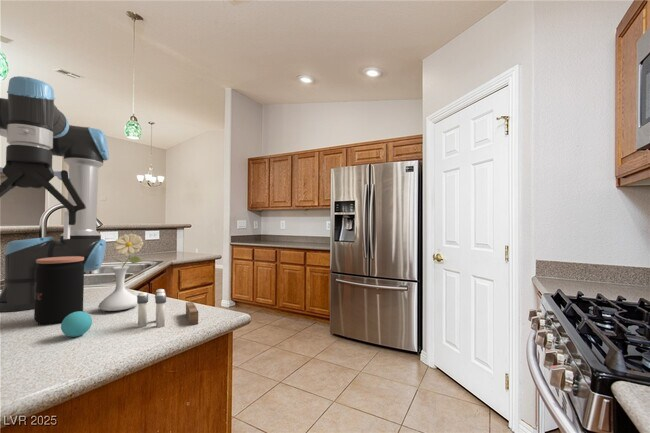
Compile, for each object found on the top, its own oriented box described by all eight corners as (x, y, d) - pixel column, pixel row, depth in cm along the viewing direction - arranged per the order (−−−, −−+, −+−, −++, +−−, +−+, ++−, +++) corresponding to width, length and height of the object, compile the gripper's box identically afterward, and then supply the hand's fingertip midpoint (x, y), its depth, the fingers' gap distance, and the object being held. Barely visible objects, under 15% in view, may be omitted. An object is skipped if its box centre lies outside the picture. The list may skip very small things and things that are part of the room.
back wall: (185, 313, 92) (185, 302, 92) (192, 313, 93) (192, 301, 93) (190, 325, 82) (190, 312, 82) (198, 324, 83) (198, 311, 83)
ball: (63, 334, 75) (64, 310, 75) (93, 330, 78) (94, 307, 78) (57, 342, 70) (58, 317, 70) (89, 337, 73) (90, 313, 73)
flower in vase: (88, 314, 92) (90, 234, 93) (114, 304, 103) (115, 232, 104) (131, 313, 92) (132, 234, 93) (151, 304, 104) (153, 233, 104)
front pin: (136, 325, 82) (137, 292, 82) (147, 323, 83) (148, 291, 83) (136, 328, 79) (137, 294, 80) (147, 326, 81) (148, 293, 81)
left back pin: (154, 320, 86) (155, 289, 86) (164, 319, 87) (165, 288, 88) (154, 323, 84) (155, 291, 84) (165, 321, 85) (165, 290, 85)
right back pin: (154, 325, 82) (155, 292, 82) (165, 323, 83) (166, 291, 83) (155, 328, 79) (155, 294, 80) (165, 326, 81) (166, 293, 81)
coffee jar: (44, 316, 89) (46, 257, 90) (88, 312, 94) (89, 255, 94) (25, 327, 80) (27, 261, 80) (75, 322, 84) (76, 259, 84)
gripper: (-63, 134, 58) (-67, 242, 58) (96, 151, 71) (94, 239, 71) (-43, 143, 65) (-46, 240, 64) (100, 157, 78) (98, 237, 77)
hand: (27, 239), depth 67 cm, fingers open, 13 cm apart
